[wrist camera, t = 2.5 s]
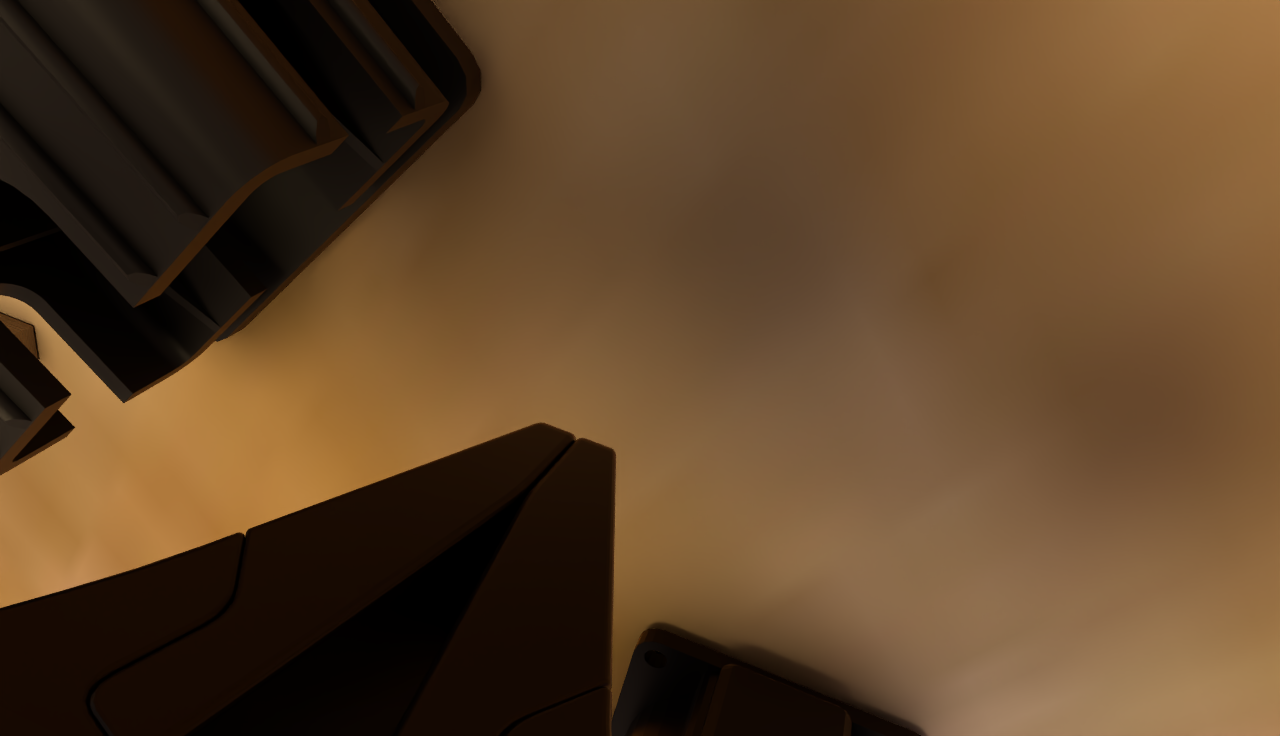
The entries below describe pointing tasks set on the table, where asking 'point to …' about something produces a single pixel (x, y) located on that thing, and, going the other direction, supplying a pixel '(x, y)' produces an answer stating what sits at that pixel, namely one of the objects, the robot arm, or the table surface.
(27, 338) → the frame
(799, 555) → the table surface
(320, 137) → the end cap
